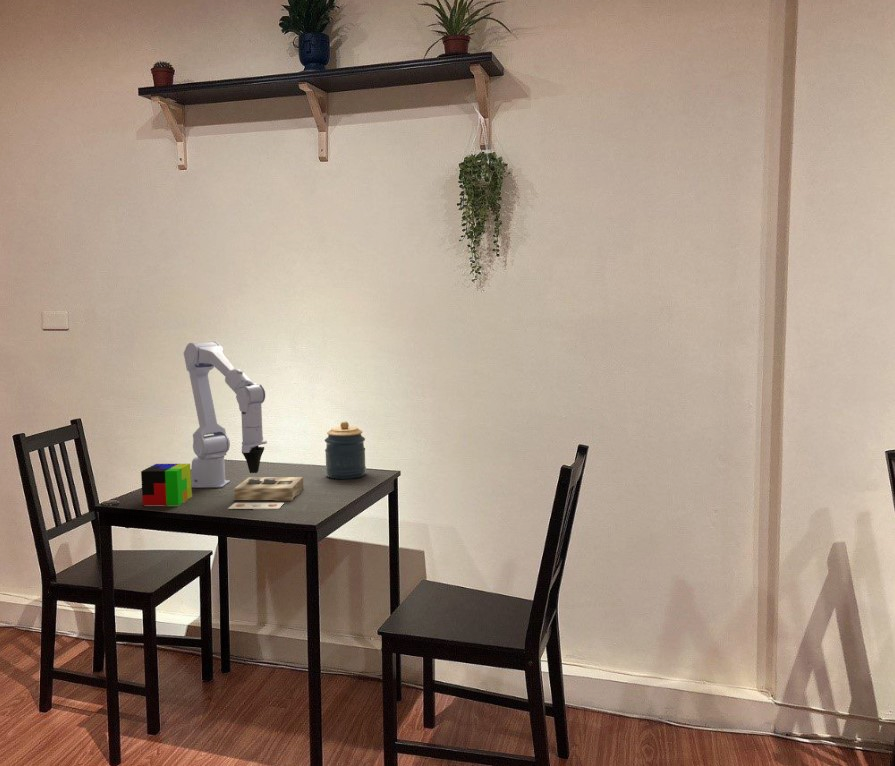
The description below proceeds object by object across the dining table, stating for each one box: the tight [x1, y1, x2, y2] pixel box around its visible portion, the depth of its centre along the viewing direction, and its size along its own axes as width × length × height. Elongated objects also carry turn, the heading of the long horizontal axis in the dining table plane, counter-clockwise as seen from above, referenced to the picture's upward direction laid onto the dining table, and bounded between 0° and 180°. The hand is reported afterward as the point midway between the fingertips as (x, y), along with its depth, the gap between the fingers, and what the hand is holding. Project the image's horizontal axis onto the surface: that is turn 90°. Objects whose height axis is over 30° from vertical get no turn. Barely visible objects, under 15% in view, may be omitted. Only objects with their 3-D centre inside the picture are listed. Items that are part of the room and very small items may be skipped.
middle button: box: [264, 478, 275, 484], centre depth 221 cm, size 3×3×2 cm
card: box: [227, 502, 285, 510], centre depth 208 cm, size 14×6×1 cm, turn 88°
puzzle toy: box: [140, 463, 193, 506], centre depth 214 cm, size 10×10×10 cm
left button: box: [249, 478, 260, 484], centre depth 221 cm, size 3×3×2 cm
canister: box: [324, 420, 367, 480], centre depth 245 cm, size 13×13×18 cm
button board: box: [233, 476, 304, 501], centre depth 221 cm, size 16×14×4 cm
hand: (254, 472), depth 221 cm, fingers closed
